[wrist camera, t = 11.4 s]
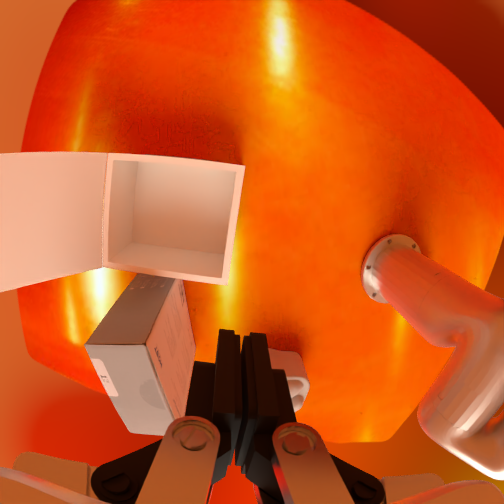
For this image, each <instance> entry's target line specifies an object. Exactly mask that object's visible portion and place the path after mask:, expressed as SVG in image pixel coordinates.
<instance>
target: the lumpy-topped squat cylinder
mask: <svg viewBox="0 0 504 504" xmlns="http://www.w3.org/2000/svg"><path fill="white" fill-rule="evenodd" d="M268 350H269V355H270V361H271V367H272V369H284V370H285V373H286V377H287V382H288V386H289V390H290V395H291V399H292V403H293V408H294V412H296V411H297V410H299V409H300V408H301V407H302V405H303V402H304V400H305V398H306V396H307V393H308V391H309V387H310V383H309V380H308V377H307V373H306V370H305V367H304V364H303V361H302V358H301V356H300V355H299V354H298V353H297V352H294V351H279V350H275V349H272V348H268Z"/></svg>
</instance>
